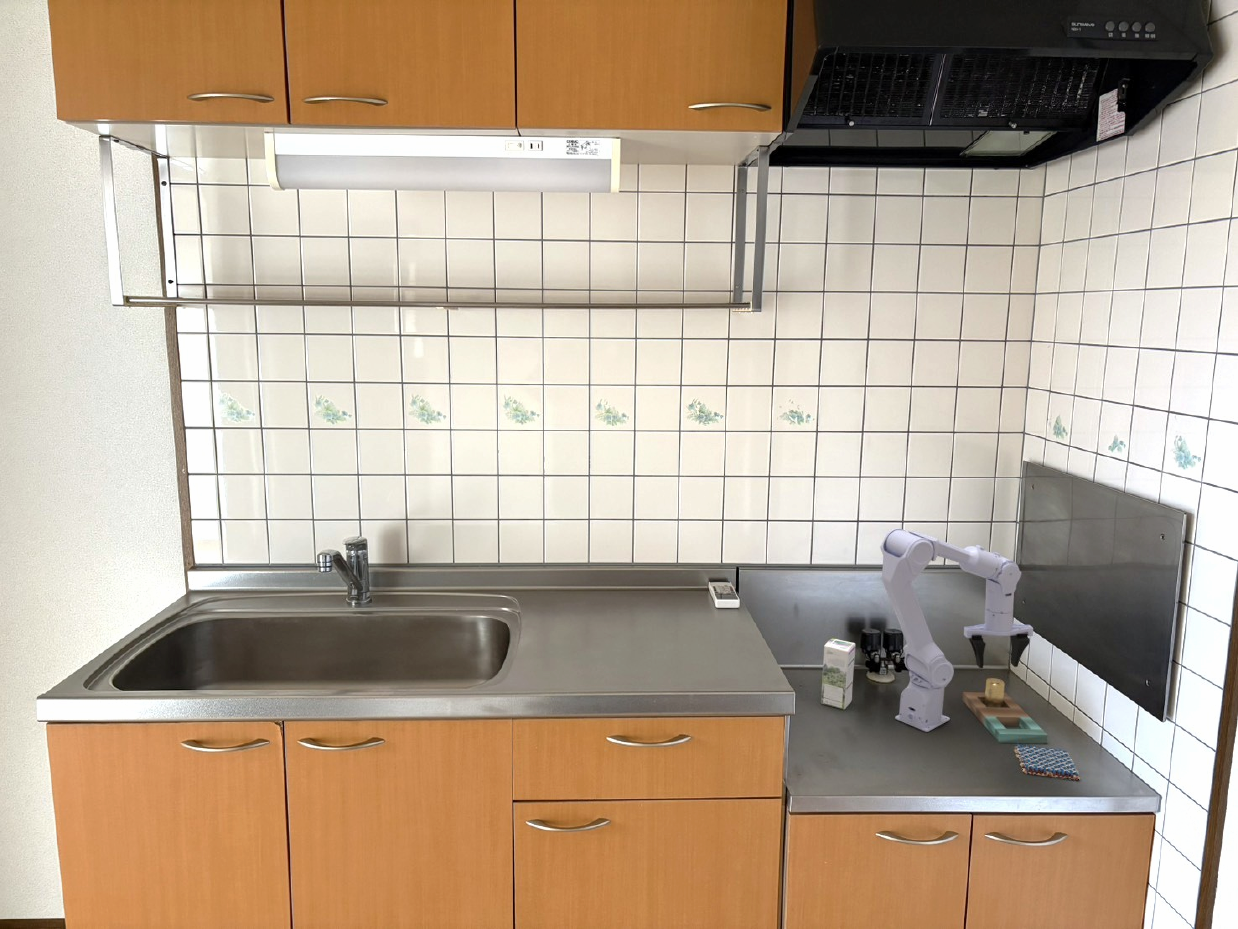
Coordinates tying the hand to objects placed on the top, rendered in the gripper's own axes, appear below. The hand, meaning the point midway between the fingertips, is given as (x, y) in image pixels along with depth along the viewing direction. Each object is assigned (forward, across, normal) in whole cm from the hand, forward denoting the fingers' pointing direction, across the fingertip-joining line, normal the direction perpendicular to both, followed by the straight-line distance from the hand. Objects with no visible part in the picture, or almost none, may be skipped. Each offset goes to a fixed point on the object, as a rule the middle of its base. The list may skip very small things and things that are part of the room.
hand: (996, 665), depth 192 cm
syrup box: (+8, +36, -1) cm, 37 cm away
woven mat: (+11, -1, +24) cm, 26 cm away
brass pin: (+11, +1, +1) cm, 11 cm away
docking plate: (+10, +1, +6) cm, 12 cm away
